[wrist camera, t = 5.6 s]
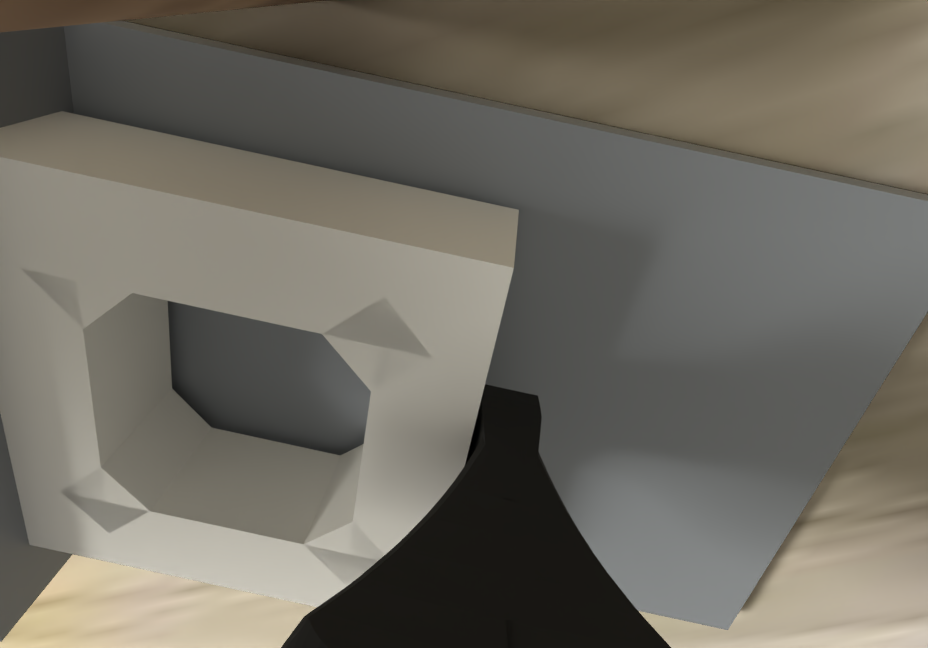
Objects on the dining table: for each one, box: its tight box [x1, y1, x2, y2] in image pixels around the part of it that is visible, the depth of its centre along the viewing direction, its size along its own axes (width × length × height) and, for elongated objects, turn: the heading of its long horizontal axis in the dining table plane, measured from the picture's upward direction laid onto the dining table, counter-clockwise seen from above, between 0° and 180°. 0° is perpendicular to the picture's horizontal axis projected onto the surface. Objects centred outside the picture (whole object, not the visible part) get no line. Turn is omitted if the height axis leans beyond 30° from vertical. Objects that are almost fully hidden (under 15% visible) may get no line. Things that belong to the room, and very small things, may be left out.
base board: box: [0, 21, 928, 641], centre depth 12 cm, size 11×17×4 cm, turn 79°
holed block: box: [0, 111, 519, 607], centre depth 12 cm, size 8×8×2 cm
